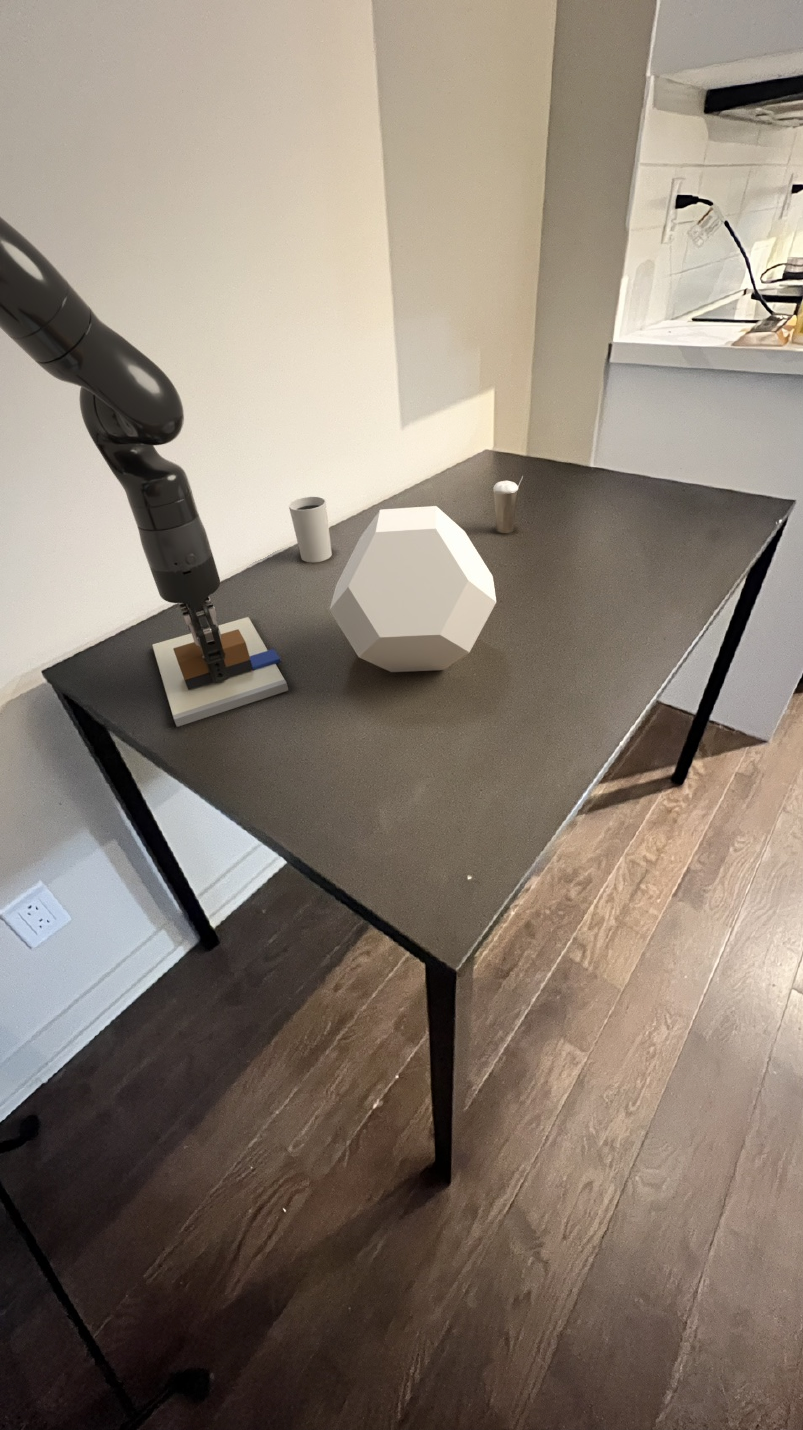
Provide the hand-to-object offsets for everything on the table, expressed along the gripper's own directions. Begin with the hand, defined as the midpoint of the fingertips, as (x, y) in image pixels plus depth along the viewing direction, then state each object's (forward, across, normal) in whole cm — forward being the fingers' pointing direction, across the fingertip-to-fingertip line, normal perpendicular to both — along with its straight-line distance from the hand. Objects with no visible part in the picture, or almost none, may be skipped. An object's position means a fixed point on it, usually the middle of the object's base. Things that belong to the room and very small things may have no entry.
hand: (217, 671), depth 86 cm
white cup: (+2, -32, +25) cm, 41 cm away
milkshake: (+2, -21, +60) cm, 64 cm away
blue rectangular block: (+1, 0, +6) cm, 7 cm away
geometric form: (+2, +9, +26) cm, 28 cm away
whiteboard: (+2, -4, 0) cm, 4 cm away
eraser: (0, 0, 0) cm, 0 cm away
